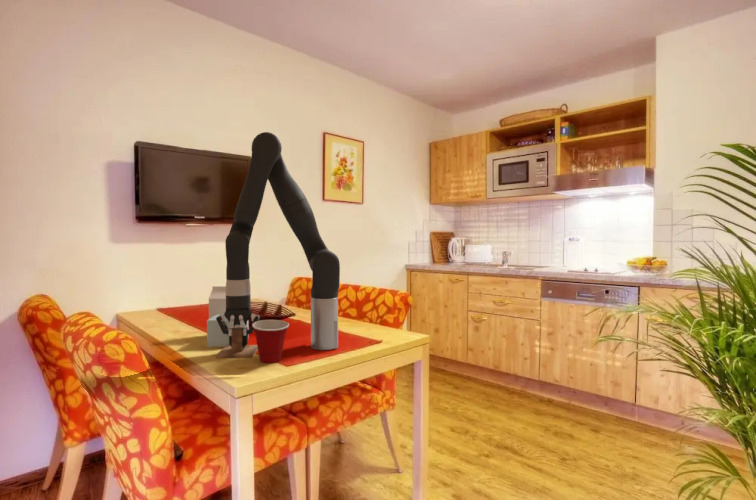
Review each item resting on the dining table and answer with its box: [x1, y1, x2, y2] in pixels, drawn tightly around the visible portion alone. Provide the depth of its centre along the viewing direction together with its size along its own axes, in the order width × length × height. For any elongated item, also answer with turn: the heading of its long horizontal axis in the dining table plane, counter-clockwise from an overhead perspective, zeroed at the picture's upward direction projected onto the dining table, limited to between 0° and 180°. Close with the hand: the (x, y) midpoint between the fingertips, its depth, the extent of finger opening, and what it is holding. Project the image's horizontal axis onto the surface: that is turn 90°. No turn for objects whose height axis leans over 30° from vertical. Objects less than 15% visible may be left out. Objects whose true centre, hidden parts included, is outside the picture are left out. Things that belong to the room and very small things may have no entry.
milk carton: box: [208, 285, 226, 319], centre depth 149 cm, size 7×7×19 cm
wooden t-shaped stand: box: [215, 327, 258, 359], centre depth 127 cm, size 11×11×8 cm
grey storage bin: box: [206, 314, 250, 348], centre depth 140 cm, size 11×11×10 cm
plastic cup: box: [251, 319, 290, 364], centre depth 119 cm, size 11×11×12 cm
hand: (238, 346), depth 127 cm, fingers closed on wooden t-shaped stand, 3 cm apart
